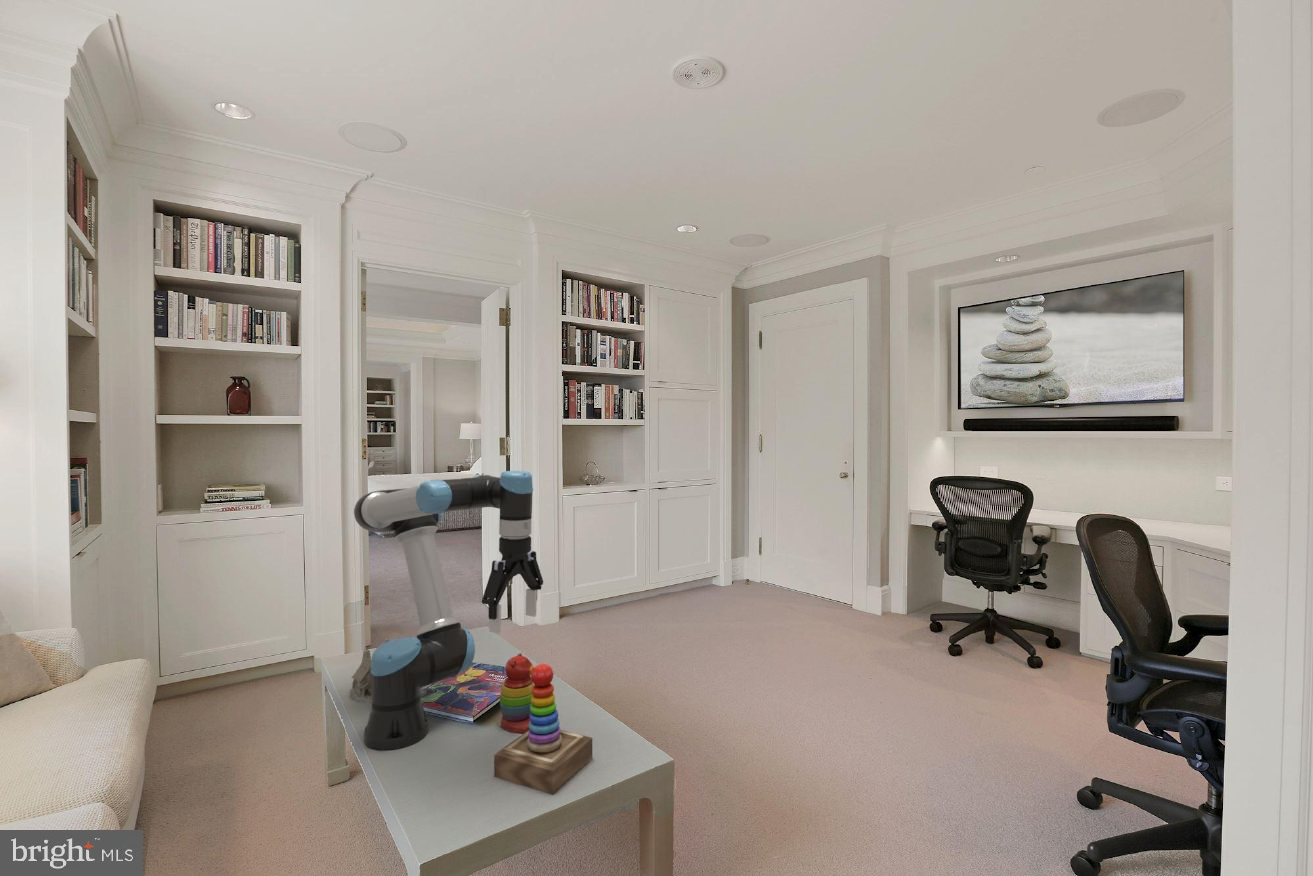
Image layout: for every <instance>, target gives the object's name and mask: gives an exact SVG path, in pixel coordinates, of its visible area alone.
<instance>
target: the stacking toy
mask: <svg viewBox="0 0 1313 876" xmlns="http://www.w3.org/2000/svg"><path fill="white" fill-rule="evenodd" d="M530 677H531V679H532V682H533V684H534V686H533V688H532V694H533V696H532V697H531V703H532V704H531V706H530V711H531V713H530V722H529V729H530V730H529V731H528V738H529V739H528V741H527V745H528V747H529V749H530V750H532V751H534V752H540V753H544V752H550V751H553V750H555V749H556V748H558V747H559V746H560V745H561V742H562V737H561V735H560V734H561V730H562V729H561V727H560V718H558V717H559V712H558V709H557V703H556V701H555V700H556V696H555V694H554V690H555V687H554V685H553V683H552V681H553V679H554V670H553V669H552V666H550V665H549V664H546V663H539V664H537V665H536V666H535V667H534V669H533V670H532V673H531V675H530Z"/></svg>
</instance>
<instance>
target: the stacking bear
mask: <svg viewBox="0 0 1313 876" xmlns="http://www.w3.org/2000/svg"><path fill="white" fill-rule="evenodd" d="M534 668H535V667H534V665H533V663H532V662H531V660H530V659H529V658H528V657H526V656H524V655H522V653H521V652H519V653H518V654H516V655H515V656H512V657H511V658H509V659H508V660H507V662H506V663H505V675H506V679H505V680H504V682H503V684H502V685H501V690H500V694H499V705H500V706H499V707H500V710H501V715H502V716H501V719H500V726H501V727H502V728H503V729H505V730H506V731H509V732H511V733H516V734H524V733H525V732H527V731H528V730H529V722H530V713H531V711H530V706H531V704H532V703H531V697H532V696H533V694H532V688H533V686H534V685H535V684H534V683H533V682H532V679H531V673H532V670H533V669H534Z"/></svg>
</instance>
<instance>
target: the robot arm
mask: <svg viewBox="0 0 1313 876" xmlns="http://www.w3.org/2000/svg"><path fill="white" fill-rule="evenodd" d="M533 492H534V488H533V475H532V474H531V473H530V472H529V471H524V470H521V471H520V470H506V471H502V472H501V473H500V477H498V476H492V475H489V474H485V475H484V474H483V475H482V474H481V475H480V474H479V475H475V476H472V477H464V478H451V479H432V480H428V481H424V482H421V483H420V484H419V485H416V486H412V487H408V488H396V489H394V488H393V489H386V490H385V489H383V490H375V491H372V492H368V493H366V494H364V495H363V496H361V497H360V498H359V499H358V501H356V504H355V505H354V506H355V507H354V508H353V516H354V519H355V522H356V523H357V525H359V527H361V528H362V529H364V530H366V531H369V532H371V533H372V532H373V533H387V532H388V533H389V532H393V535H394V538H395V540H396V541H398V542H399V543H401V544H402V548H403V553H404V557H405V562H406V567H407V570H408V575H409V576H408V577H409V580H410V584H411V589H412V594H413V597H414V602H415V607H416V611H417V612H416V613H417V616H418V622H419V625H420V629H419V630H418V632H417V633H416V637H415V636H414V637H412V636H405V637H403V638H401V637H397V638H394V639H391V640H389V641H388V642H386V643H385V642H383V643H384V644H383V643H382V644H381V645H379V646H378V647H377V648H376V649H375V650H374V651H373V653H372V655H371V660H372V661H371V669H370V671H371V699H372V702H371V710H370V713H369V716H368V721H367V724H366V726H365V728H364V730H363V731H364V732H363V742H364V745H366V747H368V748H371V749H375V750H381V751H388V750H394V749H400V748H406V747H407V746H411V745H413V744H415V743H417V742H419V741H421V740H423V738H425V736H426V735H427V734H428V732H429V720H428V718H427V715H426V712H425V710H424V706H423V703H422V699H421V698H422V693H421V692H422V688H424V687H426V686H431V685H433V684H436V683H438V682H441V681H444V680H447V679H450V678H454V677H457V676H458V675H460V674H463V673H465V672H466V671H468V670H469V669H470V667H472V665H473V661H474V659H475V654H476V645H475V640H474V636H473V635H472V633H471V632H470V630H468V628H464V627H462V625H461V621H460V620H458V619H456V618H454V616H453V611H452V608H451V603H450V600H449V595H448V591H447V587H446V582H445V578H444V574H443V570H442V565H441V561H440V560H441V559H440V557H439V556H440V555H439V553H438V548H437V545H436V544H437V542H436V539H435V534H436V533H437V531H438V529H439V528H438V524H440V522H441V520H442V518H443V515H442V514H443V513H449V512H454V511H455V512H456V511H462V510H463V511H466V510H474V509H482V508H493V509H499V520H498V521H499V524H498V525H499V527H498V529H499V530H498V534H499V535H500V537H499V539H498V552H499V553H500V554H501V555H502V557H501V560H492V561H491V571H490V574H489V577H488V580H487V583H486V587H485V589H484V593H483V595H482V598H481V603H482V604H483V605H488V619H489V623H488V629H489V630H488V632H489V633H494V634H501V630H502V629H501V628H502V623H501V622H502V604H499V603H500V602H501V599H502V597H503V595H504V593H505V591H506V589H507V588H508V585H509V582H510V581H511V580H512V579H513V578H514V577H515V576H516V577H517V576H518V575H520V576H521V578H522V579H523V581H524V583H525V584H526V586H527V587H528V588H527V589H526V590H525V616H527V617H529V616H530V617H533V618H534V617H537V603H538V602H537V601H538V590H542V586H543V584H544V579H543V576H542V573H541V569H540V567H539V564H538V560H537V552H536V551H534V550H532V537H531V536H530V535H532V517H533V515H532V513H533Z"/></svg>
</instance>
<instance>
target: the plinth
mask: <svg viewBox="0 0 1313 876" xmlns="http://www.w3.org/2000/svg"><path fill="white" fill-rule="evenodd" d="M529 730H530V729H529ZM529 730H528V731H529ZM560 730H561V734H560V735H561V737H562V742H561V745H560V746H559V747H558V748H556V749H555V750H553V751H550V752H544V753H540V752H534V751H532V750H530V749H529V747H528V745H527V741H528V739H529V738H528V731H527V732H525V733H521V735H519V736H518V737H517V738H515V739H513V740H512V741H511V742H509V743H508V744H507V745H506V746H504V747H503V748H501V749H500V750H498V751H497V752H496V753H494V755H493V757H494V760H493V761H494V762H493V764H494V765H493V766H494V767H493V768H494V774H493V776H494V777H496V778H499V779H501V780H505V781H508V782H511V783H516V784H518V785H521V786H525V787H528V788H531V789H535V790H537V791H541V792H544V793H548V794H551V795H554V794H555V793H557V792H558V791H559V790H560V789H561V788H563V786H564V785H565V784H566V783H567V782H568V781H570V780H571V779H572V778H573V777H574V776H575V775H577V774H578V773H579V772H580V770H582V769H583V768H584V767H585V766H586V765H587V764H588V763H590V762H591V761H592V759H593V737H591V736H586V735H582V734H578V733H575V732H572V731H571V732H570V731H567V730H562V729H560Z"/></svg>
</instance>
